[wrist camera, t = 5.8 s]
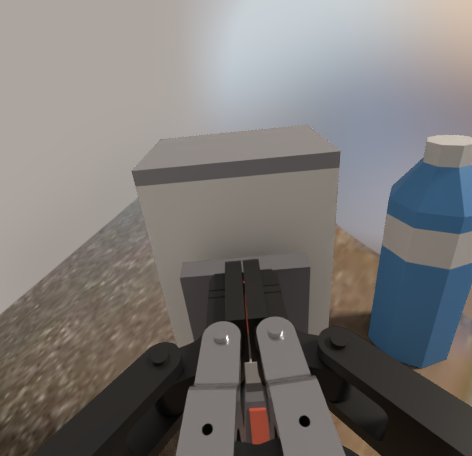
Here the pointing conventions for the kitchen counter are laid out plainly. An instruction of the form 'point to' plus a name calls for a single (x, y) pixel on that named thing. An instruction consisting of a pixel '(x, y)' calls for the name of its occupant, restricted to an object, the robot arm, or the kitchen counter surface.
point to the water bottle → (426, 255)
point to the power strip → (240, 207)
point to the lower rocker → (256, 419)
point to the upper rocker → (292, 288)
